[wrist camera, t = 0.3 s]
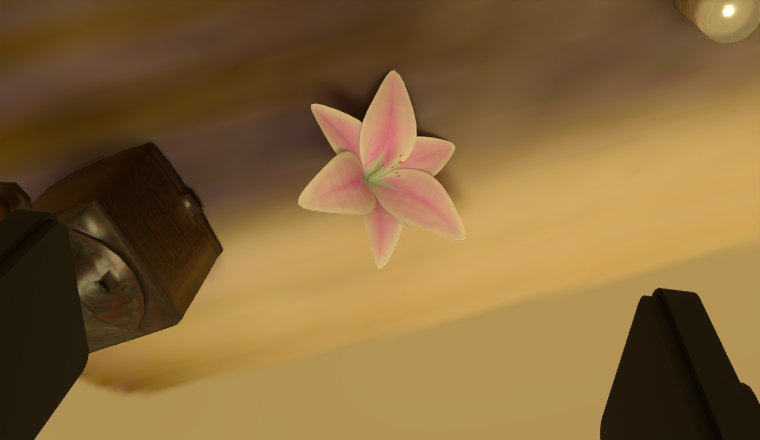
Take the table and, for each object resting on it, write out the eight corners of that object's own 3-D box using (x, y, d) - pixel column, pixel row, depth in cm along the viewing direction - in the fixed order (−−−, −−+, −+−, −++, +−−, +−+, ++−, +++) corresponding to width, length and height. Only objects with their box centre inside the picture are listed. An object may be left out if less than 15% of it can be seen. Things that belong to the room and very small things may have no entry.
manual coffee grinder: (233, 250, 55) (139, 418, 39) (122, 290, 58) (-7, 460, 43) (122, 72, 49) (-44, 188, 33) (3, 128, 52) (-198, 258, 36)
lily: (466, 221, 53) (512, 233, 43) (318, 276, 51) (332, 301, 41) (416, 66, 51) (453, 44, 42) (262, 117, 49) (263, 106, 40)
